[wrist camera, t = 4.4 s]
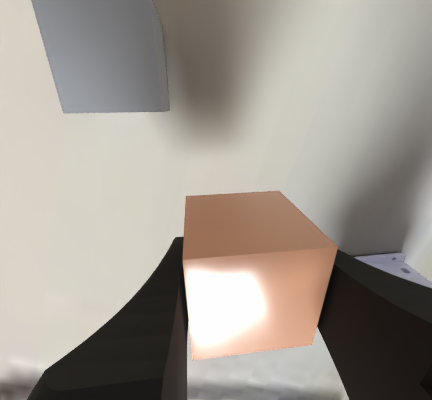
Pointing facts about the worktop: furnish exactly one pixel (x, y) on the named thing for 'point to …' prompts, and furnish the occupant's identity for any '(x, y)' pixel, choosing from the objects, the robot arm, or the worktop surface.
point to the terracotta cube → (252, 273)
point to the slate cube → (105, 54)
